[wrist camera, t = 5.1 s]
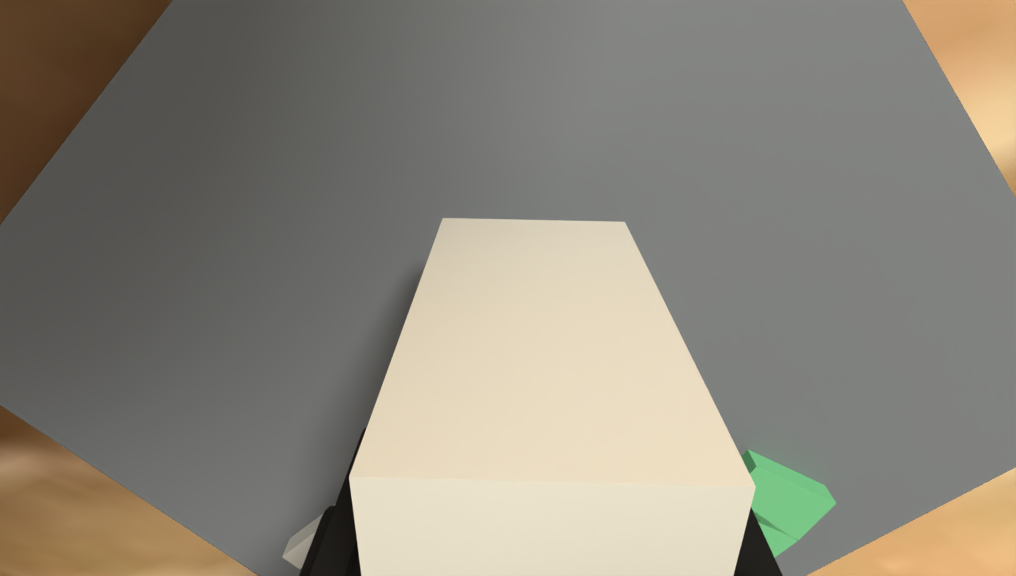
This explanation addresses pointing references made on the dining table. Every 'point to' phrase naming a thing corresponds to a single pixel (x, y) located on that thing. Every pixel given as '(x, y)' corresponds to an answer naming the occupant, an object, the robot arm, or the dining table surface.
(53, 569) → the dining table surface
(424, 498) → the dial knob
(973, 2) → the dining table surface
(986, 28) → the dining table surface
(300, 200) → the dial board
